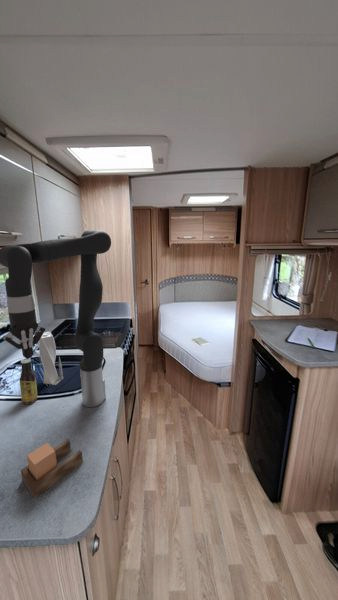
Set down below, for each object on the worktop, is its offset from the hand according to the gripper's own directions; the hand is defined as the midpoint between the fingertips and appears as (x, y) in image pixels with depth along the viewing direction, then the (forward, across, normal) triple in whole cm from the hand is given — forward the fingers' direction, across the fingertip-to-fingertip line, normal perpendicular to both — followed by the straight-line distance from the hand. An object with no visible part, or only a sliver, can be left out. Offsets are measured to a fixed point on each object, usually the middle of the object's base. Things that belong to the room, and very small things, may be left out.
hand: (28, 357), depth 84 cm
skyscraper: (+32, -21, -32) cm, 50 cm away
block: (+32, +7, +18) cm, 37 cm away
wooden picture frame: (+32, +3, +18) cm, 37 cm away
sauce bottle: (+32, -7, -24) cm, 41 cm away
